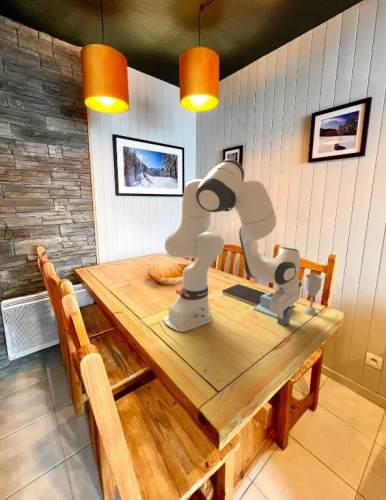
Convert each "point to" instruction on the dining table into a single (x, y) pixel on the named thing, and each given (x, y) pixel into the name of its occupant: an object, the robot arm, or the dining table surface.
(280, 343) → the dining table surface
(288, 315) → the bracket
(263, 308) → the grey socket base
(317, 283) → the chalice
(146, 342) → the dining table surface
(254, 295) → the hardcover book
